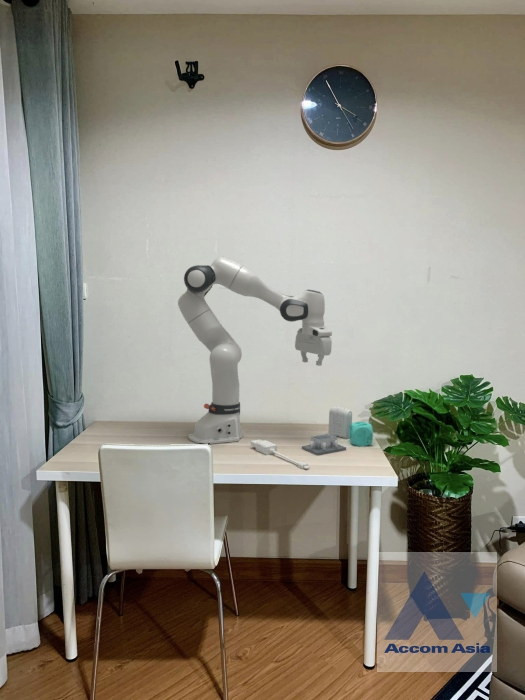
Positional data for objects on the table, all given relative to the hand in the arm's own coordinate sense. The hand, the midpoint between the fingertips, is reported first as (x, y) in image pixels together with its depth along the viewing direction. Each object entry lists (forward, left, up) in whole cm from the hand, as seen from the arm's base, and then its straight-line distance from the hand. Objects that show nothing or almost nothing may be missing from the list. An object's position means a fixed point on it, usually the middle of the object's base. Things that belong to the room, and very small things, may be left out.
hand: (311, 363), depth 248 cm
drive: (-6, -17, -30) cm, 35 cm away
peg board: (-6, -17, -31) cm, 36 cm away
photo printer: (+12, -5, -31) cm, 34 cm away
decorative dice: (+12, -18, -31) cm, 38 cm away
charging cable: (-26, -16, -31) cm, 44 cm away
